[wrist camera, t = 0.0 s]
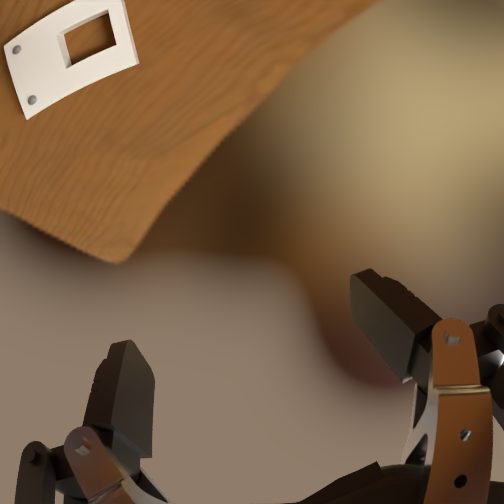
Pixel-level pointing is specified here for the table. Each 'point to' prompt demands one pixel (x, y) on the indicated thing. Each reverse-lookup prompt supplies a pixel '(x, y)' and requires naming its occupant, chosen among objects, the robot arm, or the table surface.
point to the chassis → (66, 54)
